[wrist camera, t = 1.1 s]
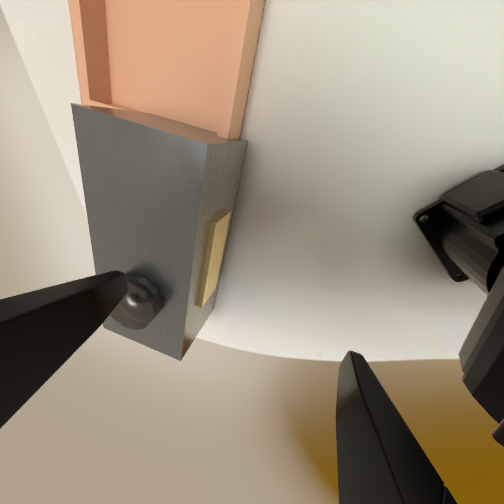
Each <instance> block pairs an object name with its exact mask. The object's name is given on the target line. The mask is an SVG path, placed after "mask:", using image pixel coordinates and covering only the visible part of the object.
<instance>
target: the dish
mask: <svg viewBox="0 0 504 504" xmlns="http://www.w3.org/2000/svg"><path fill="white" fill-rule="evenodd" d="M68 2H69V9H70V17H71V25H72V33H73V41H74V49H75V57H76V65H77V73H78V81H79V89H80V97H81V105H89V106H97V107H105V108H113V109H121V110H129V111H137V112H145V113H151V114H155V115H158V116H161V117H165V118H168V119H172V120H175V121H179V122H182V123H185V124H189V125H192V126H196V127H199V128H203V129H206V130H209V131H213V132H216V133H217V136H219V137H222V138H226V139H239V138H240V133H241V128H242V122H243V117H244V112H245V106H246V101H247V96H248V90H249V85H250V80H251V74H252V69H253V63H254V58H255V53H256V47H257V42H258V37H259V31H260V26H261V21H262V15H263V10H264V5H265V0H68Z"/></svg>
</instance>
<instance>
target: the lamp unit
mask: <svg viewBox="0 0 504 504" xmlns="http://www.w3.org/2000/svg"><path fill="white" fill-rule="evenodd" d="M71 107H72V113H73V120H74V127H75V134H76V141H77V148H78V155H79V162H80V169H81V175H82V182H83V189H84V196H85V203H86V210H87V217H88V224H89V230H90V237H91V244H92V250H93V258H94V265H95V272H96V275H98V274H102V273H106V272H110V271H114V270H118V271H121V272H124V273H126V275H127V281H128V292H127V294H126V295H125V296H124V298H123V299H122V300H121V301H120V303H119V304H118V305H117V306H116V308H115V309H114V310H113V311H112V312H111V314H110V315H109V316H108V317H107V319H106V320H105V321H104V322H103V327H104V328H106V329H108V330H110V331H113V332H115V333H117V334H119V335H122V336H124V337H127V338H129V339H131V340H133V341H136V342H138V343H141V344H143V345H146V346H147V347H150V348H152V349H154V350H157V351H159V352H161V353H164V354H166V355H168V356H171V357H173V358H175V359H178V360H180V361H181V360H182V358H183V357H184V355H185V353H186V352H187V350H188V349H189V347H190V345H191V344H192V342H193V341H194V339H195V337H196V336H197V334H198V333H199V331H200V329H201V328H202V326H203V325H204V323H205V321H206V320H207V318H208V317H209V315H210V313H211V312H212V310H213V307H214V302H215V298H216V293H217V288H218V283H219V278H220V273H221V268H222V263H223V258H224V254H225V249H226V244H227V239H228V234H229V229H230V224H231V219H232V214H233V209H234V205H235V200H236V195H237V190H238V185H239V180H240V175H241V170H242V165H243V161H244V156H245V151H246V146H247V141H246V140H243V139H226V138H222V137H219V136H217V133H216V132H213V131H209V130H206V129H203V128H199V127H196V126H192V125H189V124H185V123H182V122H179V121H175V120H172V119H168V118H165V117H161V116H158V115H155V114H151V113H145V112H137V111H129V110H121V109H113V108H105V107H97V106H89V105H81V104H73V103H71Z"/></svg>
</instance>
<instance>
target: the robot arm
mask: <svg viewBox="0 0 504 504" xmlns="http://www.w3.org/2000/svg"><path fill="white" fill-rule="evenodd" d="M423 215H426V218H425V219H424V220H419V219H420V217H421V216H423ZM413 219H414V222H415V223H416V225H417V226H418V228H419V229H420V231H421V232H422V234H423V235H424V237H425V239H426V240H427V242H428V243H429V245H430V246H431V248H432V249H433V251H434V253H435V254H436V256H437V257H438V259H439V260H440V262H441V263H442V265H443V267H444V268H445V270H446V271H447V273H448V274H449V276H450V277H451V278H452V279H453V280H454V281H456V282H461V281H465V280H468V279H471V280H472V281H473V282H474V283H475V284H476V285H477V286H478V287H479V288H481V289H482V290H483V291H484V292H485V293H486V294H487V295H488V296H487V298H486V300H485V302H484V304H483V306H482V308H481V310H480V312H479V314H478V316H477V318H476V320H475V322H474V324H473V326H472V328H471V330H470V331H469V333H468V335H467V337H466V339H465V341H464V343H463V345H462V348H461V350H460V352H459V357H460V362H461V367H462V370H463V372H464V375H463V377H462V380H463V382H464V384H465V385H466V387H467V388H468V389H469V391H470V393H471V394H472V396H473V397H474V398H475V399H476V400H477V402H478V403H479V404H480V405H481V406H482V407H483V408H484V409H485V410H486V411H487V412H488V414H489V415H490V416H491V417H492V418H494V420H495V421H497V422H498V423H499V425H498V426H497V428H496V429H495V430H494V431H493V433H492V436H493V438H494V439H495V440H496V441H497V442H498V443H499V444H501V445H502V446H504V166H502V167H500V168H498V169H496V170H494V171H492V170H489V171H486V172H484V173H483V174H481V175H479V176H477V177H475V178H473V179H472V180H470V181H468V182H466V183H464V184H462V185H461V186H459V187H457V188H455V189H453V190H451V191H450V192H448V193H446V194H444V196H443V198H442V199H441V200H439V201H437V202H435V203H433V204H431V205H429V206H428V207H426V208H424V209H422V210H420V211H418V212H417V213H416V214H415V215H414V218H413ZM459 273H462V274H461V275H460V276H456V275H457V274H459ZM127 292H128V281H127V275H126V273H124V272H121V271H118V270H114V271H110V272H106V273H102V274H98V275H95V276H91V277H86V278H83V279H79V280H75V281H71V282H67V283H63V284H59V285H55V286H51V287H47V288H43V289H40V290H36V291H32V292H28V293H24V294H20V295H16V296H12V297H8V298H5V299H1V300H0V428H1V427H2V426H3V425H4V424H5V423H6V422H7V421H8V420H9V419H10V418H11V417H12V416H13V415H14V414H15V413H16V412H17V411H18V410H19V409H20V408H21V407H22V406H23V405H24V404H25V403H26V402H27V401H28V400H29V399H30V398H31V397H32V396H33V394H34V393H35V392H36V391H37V390H38V389H39V388H40V387H41V386H42V385H43V384H44V383H45V382H46V381H47V380H48V379H49V378H50V377H51V376H52V375H53V374H54V373H55V372H56V371H57V370H58V369H59V368H60V367H61V366H62V365H63V364H64V363H65V362H66V361H67V360H68V359H69V358H70V357H71V355H72V354H73V353H74V352H75V351H76V350H77V349H78V348H79V347H80V346H81V345H82V344H83V343H84V342H85V341H86V340H87V339H88V338H89V337H90V336H91V335H92V334H93V333H94V332H95V331H96V330H97V329H98V328H99V327H100V326H101V325H102V323H103V322H104V321H105V320H106V319H107V317H108V316H109V315H110V314H111V312H112V311H113V310H114V309H115V308H116V306H117V305H118V304H119V303H120V301H121V300H122V299H123V298H124V296H125V295H126V294H127ZM336 439H337V462H338V463H337V464H338V488H339V489H338V490H339V504H457V502H456V501H455V499H454V498H453V496H452V495H451V493H450V492H449V490H448V489H447V487H446V486H444V482H443V481H442V480H441V478H440V476H439V474H438V473H437V471H436V470H435V468H434V467H433V465H432V463H431V462H430V460H429V459H428V457H427V456H426V454H425V453H424V451H423V450H422V448H421V446H420V445H419V443H418V442H417V440H416V438H415V437H414V435H413V434H412V432H411V431H410V429H409V427H408V426H407V424H406V423H405V421H404V420H403V418H402V416H401V415H400V413H399V412H398V410H397V409H396V407H395V405H394V404H393V402H392V401H391V400H390V398H389V396H388V395H387V393H386V391H385V390H384V388H383V387H382V385H381V384H380V382H379V381H378V379H377V377H376V376H375V374H374V373H373V371H372V369H371V368H370V366H369V365H368V363H367V362H366V360H365V358H364V357H363V356H362V355H361V354H359V353H357V352H354V351H348V352H347V354H346V356H345V357H344V359H343V361H342V363H341V364H340V367H339V374H338V389H337V404H336Z"/></svg>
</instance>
